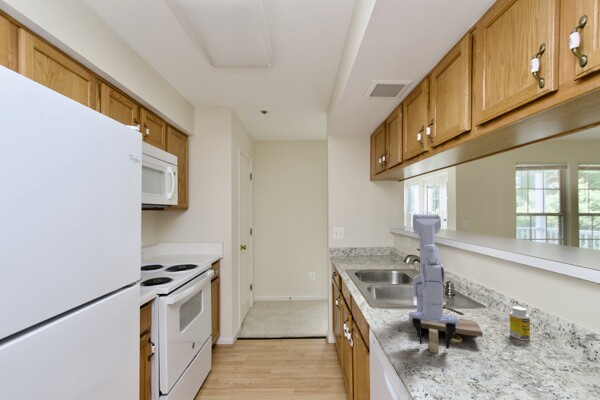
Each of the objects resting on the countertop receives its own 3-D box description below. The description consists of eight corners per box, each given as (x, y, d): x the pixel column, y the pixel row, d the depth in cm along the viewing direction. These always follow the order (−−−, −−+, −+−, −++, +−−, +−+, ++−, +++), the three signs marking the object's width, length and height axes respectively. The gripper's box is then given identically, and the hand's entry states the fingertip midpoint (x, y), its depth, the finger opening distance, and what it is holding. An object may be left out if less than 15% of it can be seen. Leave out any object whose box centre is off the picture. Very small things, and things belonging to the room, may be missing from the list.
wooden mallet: (427, 334, 98) (427, 317, 99) (437, 336, 97) (437, 319, 97) (429, 351, 86) (429, 332, 87) (441, 353, 85) (440, 334, 85)
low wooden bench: (416, 325, 106) (415, 312, 106) (476, 335, 98) (475, 320, 98) (416, 336, 97) (416, 322, 97) (482, 347, 89) (482, 332, 89)
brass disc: (444, 335, 98) (444, 332, 98) (459, 338, 96) (459, 334, 97) (447, 342, 93) (447, 338, 93) (464, 344, 92) (464, 341, 92)
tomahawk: (473, 315, 120) (473, 312, 120) (461, 316, 117) (461, 313, 117) (436, 301, 138) (436, 299, 138) (425, 301, 135) (425, 299, 135)
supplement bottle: (523, 342, 93) (522, 311, 93) (506, 335, 98) (505, 306, 99) (534, 339, 95) (533, 309, 95) (516, 332, 100) (515, 304, 101)
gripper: (408, 302, 87) (409, 346, 86) (460, 309, 81) (461, 355, 81) (408, 296, 94) (409, 336, 93) (457, 302, 88) (458, 345, 87)
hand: (433, 345), depth 87 cm, fingers open, 7 cm apart
